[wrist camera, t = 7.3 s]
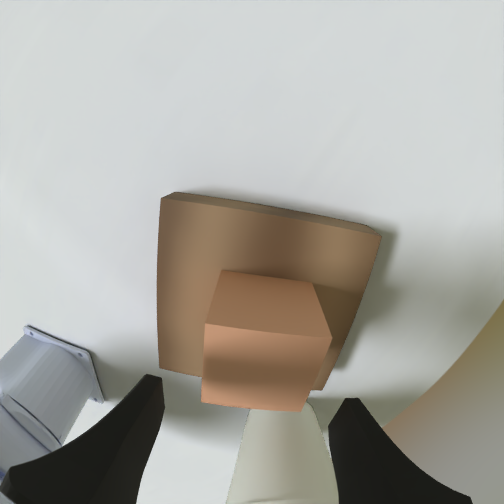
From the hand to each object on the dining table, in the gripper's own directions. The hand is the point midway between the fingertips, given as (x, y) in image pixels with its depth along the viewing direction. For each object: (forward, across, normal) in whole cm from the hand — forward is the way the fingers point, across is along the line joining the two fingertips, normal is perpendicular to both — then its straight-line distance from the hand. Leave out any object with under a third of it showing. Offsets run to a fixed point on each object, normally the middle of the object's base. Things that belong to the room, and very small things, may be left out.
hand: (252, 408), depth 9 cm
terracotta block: (+7, 0, 0) cm, 7 cm away
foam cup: (+9, -5, +13) cm, 17 cm away
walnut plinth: (+10, 0, 0) cm, 10 cm away
